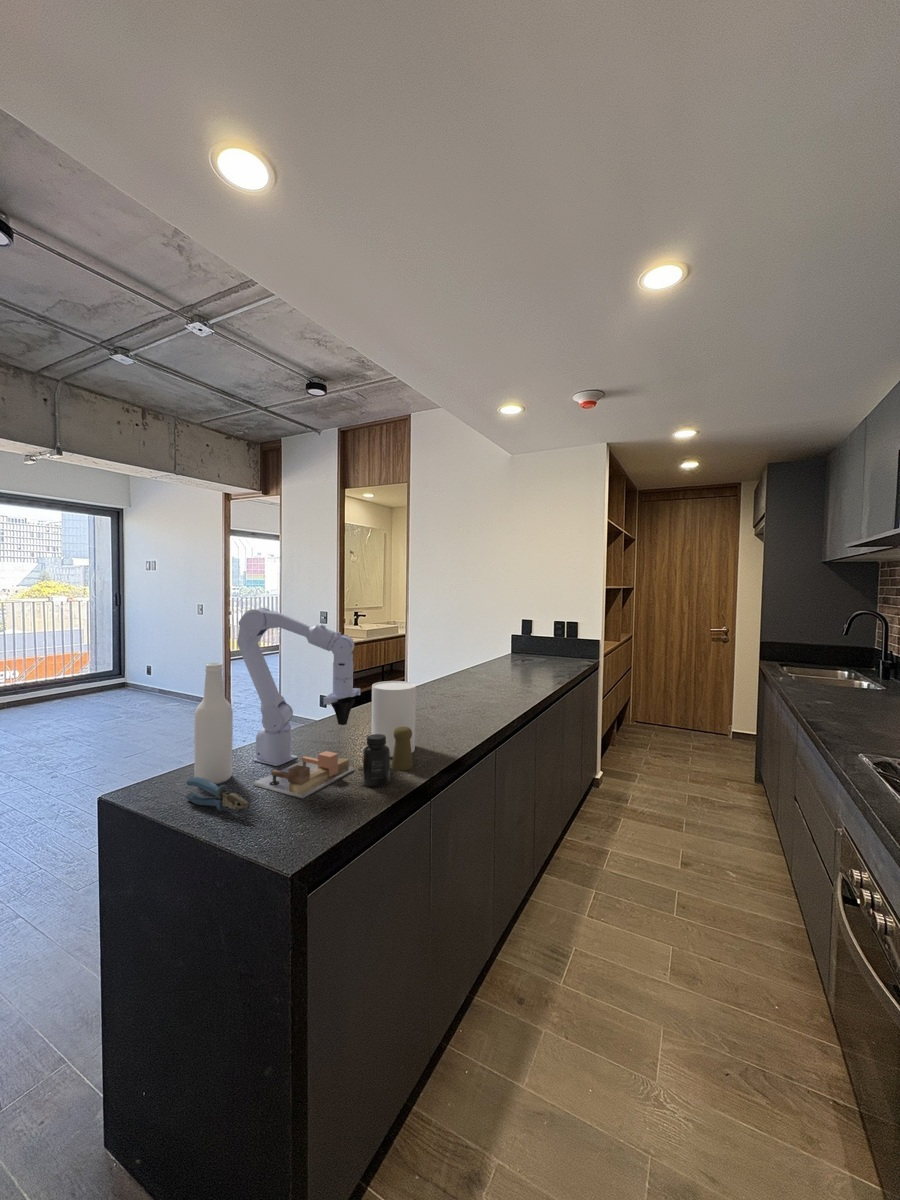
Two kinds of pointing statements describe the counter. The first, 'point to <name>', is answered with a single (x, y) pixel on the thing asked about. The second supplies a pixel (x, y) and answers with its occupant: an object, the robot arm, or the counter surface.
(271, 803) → the counter surface
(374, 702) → the canister
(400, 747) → the cork
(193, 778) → the pliers
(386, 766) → the supplement bottle
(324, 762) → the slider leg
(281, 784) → the flange plate
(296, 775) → the bar
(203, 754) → the alcohol
